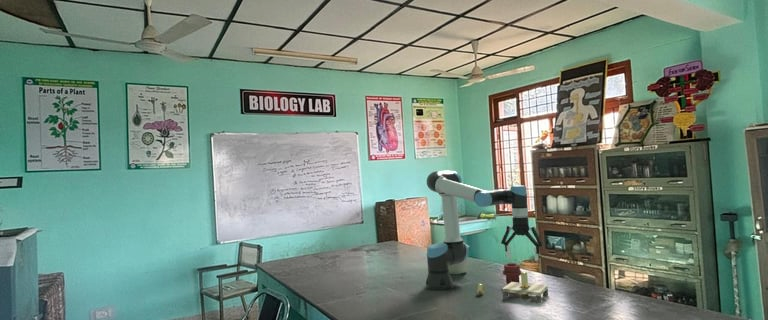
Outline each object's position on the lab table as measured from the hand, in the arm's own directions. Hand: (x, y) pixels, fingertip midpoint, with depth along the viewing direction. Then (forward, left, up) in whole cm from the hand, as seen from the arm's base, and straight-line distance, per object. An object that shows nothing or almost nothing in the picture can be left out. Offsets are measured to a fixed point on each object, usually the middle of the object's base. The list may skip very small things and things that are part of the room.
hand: (522, 259), depth 212 cm
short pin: (-22, -4, -19) cm, 29 cm away
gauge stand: (0, 0, -19) cm, 19 cm away
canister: (-54, +34, -19) cm, 66 cm away
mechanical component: (-12, +17, -19) cm, 28 cm away
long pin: (0, 0, -19) cm, 19 cm away
